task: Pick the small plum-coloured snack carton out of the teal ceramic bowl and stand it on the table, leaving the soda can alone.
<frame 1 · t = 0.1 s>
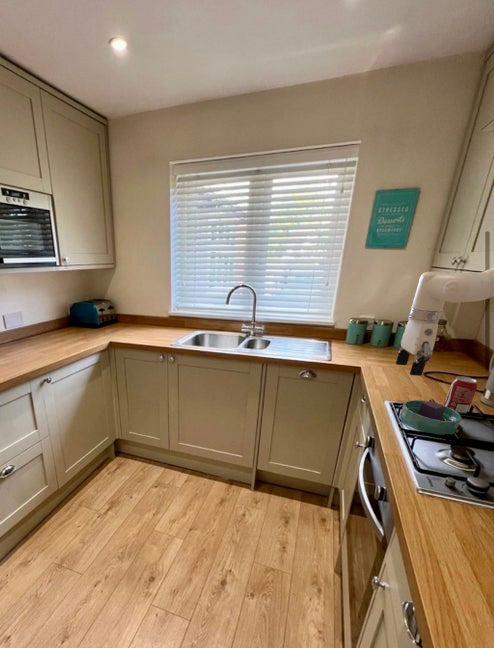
hand: (407, 369, 105), 17 cm above the countertop, tool pointing down, fingers open, 9 cm apart
bowl: (426, 423, 107), on the countertop
snack carton: (427, 422, 106), resting on bowl
soda can: (454, 411, 116), on the countertop
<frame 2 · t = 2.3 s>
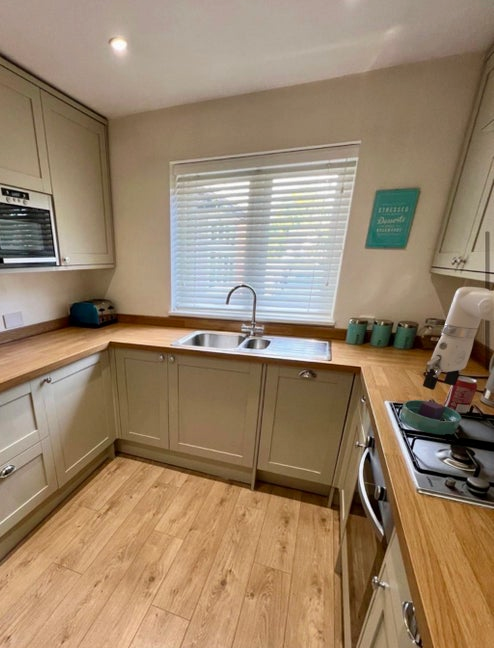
hand: (438, 385, 102), 13 cm above the countertop, tool pointing down, fingers open, 9 cm apart
nothing on the countertop moved.
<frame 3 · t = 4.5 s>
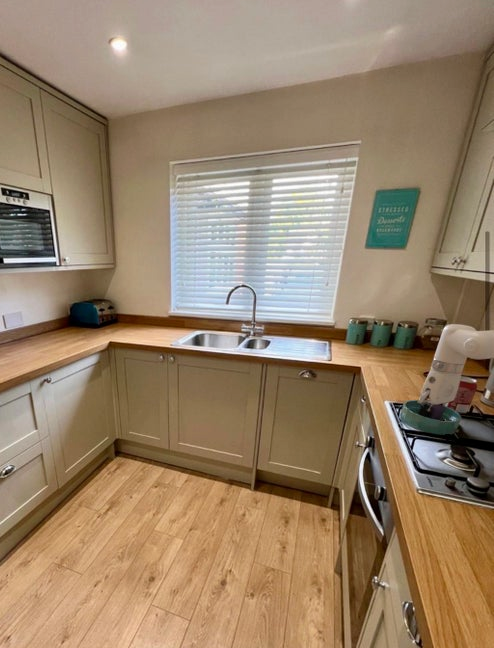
hand: (428, 419, 106), 2 cm above the countertop, tool pointing down, fingers closed on snack carton, 4 cm apart
snack carton: (427, 422, 106), point 1 cm above the countertop, touching bowl, gripper
everything else where it was.
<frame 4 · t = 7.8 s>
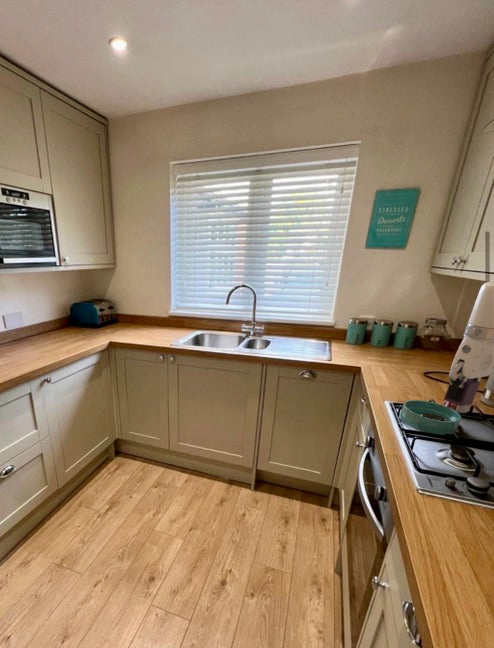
hand: (459, 397, 90), 15 cm above the countertop, tool pointing down, fingers closed on snack carton, 4 cm apart
snack carton: (457, 401, 91), point 14 cm above the countertop, touching gripper
everything else where it was.
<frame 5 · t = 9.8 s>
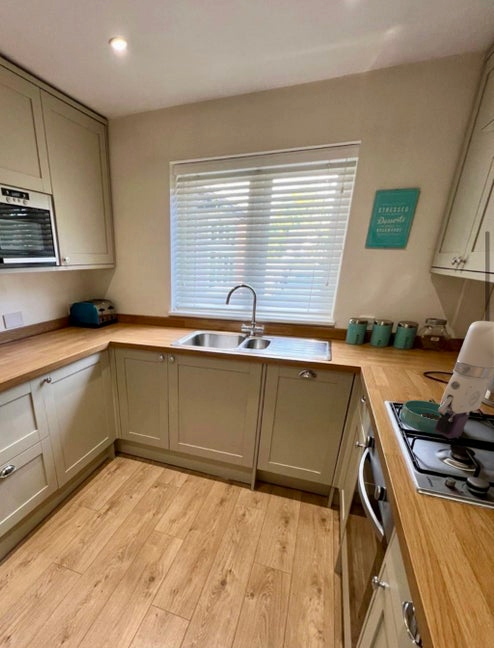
hand: (448, 429, 93), 5 cm above the countertop, tool pointing down, fingers closed on snack carton, 4 cm apart
snack carton: (446, 433, 93), point 4 cm above the countertop, touching gripper
everything else where it was.
when the fingers open (1 cm above the countertop, at t = 11.3 s): snack carton stays where it is, on the countertop.
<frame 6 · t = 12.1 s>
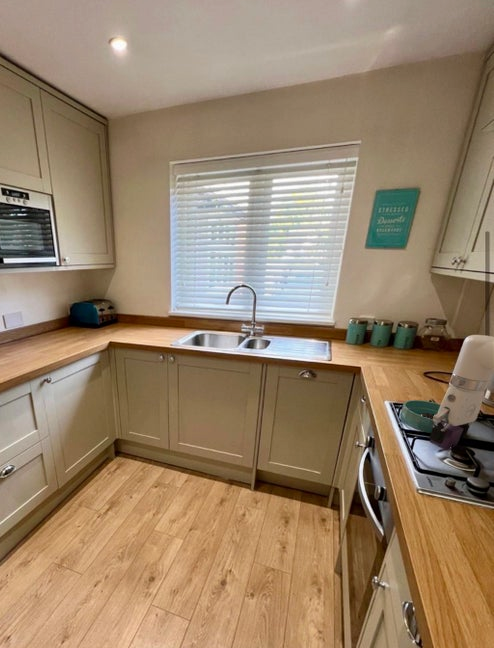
hand: (447, 438, 93), 3 cm above the countertop, tool pointing down, fingers open, 9 cm apart
snack carton: (442, 445, 95), on the countertop
everything else where it was.
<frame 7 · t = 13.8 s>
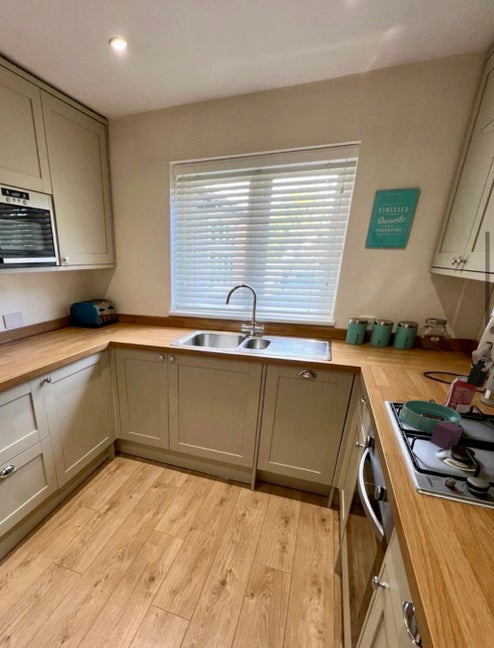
hand: (487, 383, 79), 23 cm above the countertop, tool pointing down, fingers open, 9 cm apart
nothing on the countertop moved.
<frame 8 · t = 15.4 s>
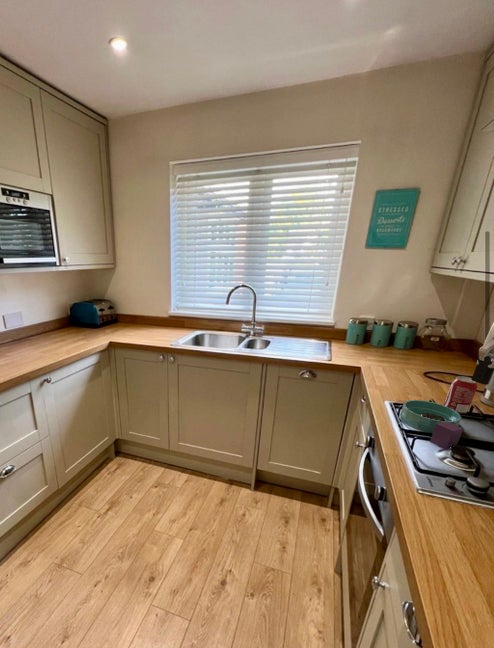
hand: (492, 380, 76), 24 cm above the countertop, tool pointing down, fingers open, 9 cm apart
nothing on the countertop moved.
at the end: snack carton inside the target area (0.3 cm from its centre), on the countertop; snack carton tilted 0°; snack carton touching countertop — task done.
